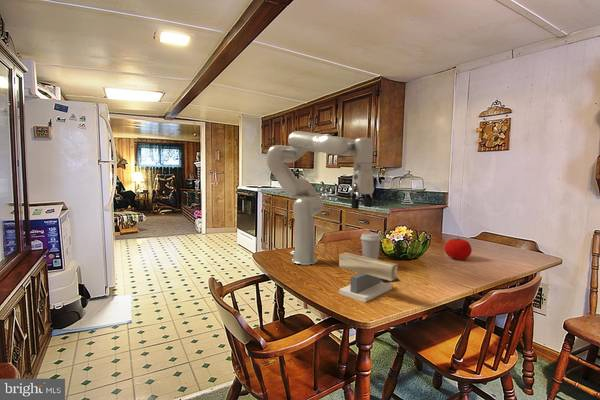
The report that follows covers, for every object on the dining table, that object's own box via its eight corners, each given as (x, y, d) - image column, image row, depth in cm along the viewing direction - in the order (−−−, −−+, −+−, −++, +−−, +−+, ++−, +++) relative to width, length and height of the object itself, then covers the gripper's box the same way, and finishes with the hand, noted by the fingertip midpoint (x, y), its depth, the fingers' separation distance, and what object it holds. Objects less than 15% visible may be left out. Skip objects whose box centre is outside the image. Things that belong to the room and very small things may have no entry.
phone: (379, 268, 142) (399, 279, 128) (379, 270, 142) (399, 281, 128) (363, 270, 140) (382, 281, 125) (363, 272, 140) (382, 283, 125)
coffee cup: (381, 269, 142) (382, 236, 141) (359, 268, 144) (360, 235, 143) (380, 263, 152) (381, 232, 150) (359, 262, 153) (360, 231, 152)
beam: (391, 280, 107) (391, 266, 107) (339, 267, 122) (339, 254, 122) (396, 278, 110) (397, 264, 109) (345, 264, 125) (345, 252, 125)
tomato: (475, 260, 158) (477, 239, 158) (457, 262, 154) (458, 241, 153) (457, 255, 169) (458, 235, 168) (439, 257, 164) (440, 237, 163)
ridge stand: (339, 293, 114) (339, 274, 114) (366, 281, 127) (367, 264, 126) (365, 302, 107) (365, 282, 106) (391, 288, 119) (392, 270, 119)
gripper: (358, 167, 126) (357, 210, 127) (381, 167, 138) (380, 206, 140) (343, 167, 131) (342, 208, 133) (366, 167, 143) (365, 205, 145)
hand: (361, 207), depth 136 cm, fingers open, 9 cm apart
